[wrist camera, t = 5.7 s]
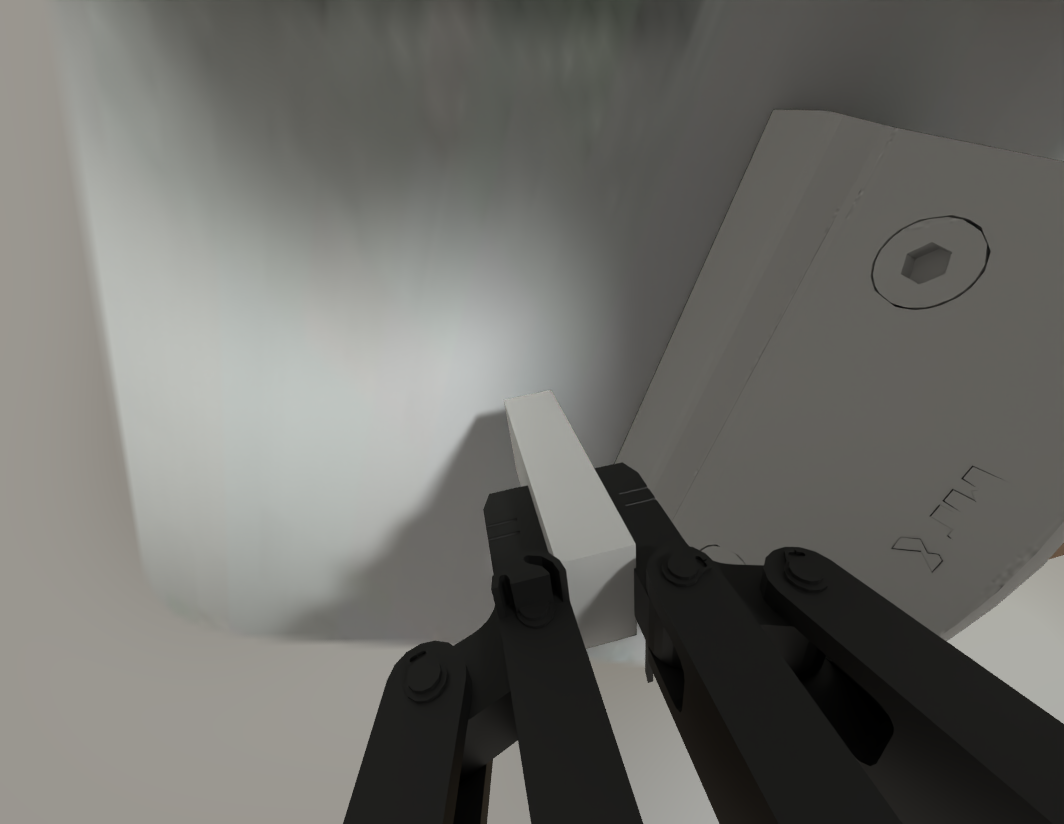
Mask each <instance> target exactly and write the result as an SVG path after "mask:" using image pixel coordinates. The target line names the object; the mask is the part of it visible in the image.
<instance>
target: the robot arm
mask: <svg viewBox="0 0 1064 824" xmlns="http://www.w3.org/2000/svg"><path fill="white" fill-rule="evenodd" d="M504 404H505V409H506V415H507V421H508V426H509V432H510V438H511V443H512V449H513V455H514V460H515V466H516V471H517V475H518V478H519V481H520V485H521V487H518V488H514V489H509V490H505V491H500V492H496V493H492V494H489V496H488V499H487V502H486V504H485V507H484V509H483V510H484V516H485V522H486V529H487V535H488V540H489V547H490V554H491V560H492V566H493V573H494V575H493V577H492V588H491V590H492V594H493V598H494V601H495V608H494V610H493V612H492V614H491V616H490V618H489V619H488V620H487V622H486V623H485V624H484V625H483V626H482V627H481V628H480V629H479V630H477V631H476V632H475V633H473V634H472V635H470V636H469V637H467V638H466V639H464V640H462V641H461V642H459V643H457V644H456V645H454V646H452V645H451V644H450V643H446V642H440V641H432V642H427V643H423V644H420V645H418V646H416V647H415V648H413V649H411V650H410V651H408V652H406V654H405V655H404V656H403V657H402V658H401V659H400V660H399V661H398V662H397V663H396V664H395V666H394V668H393V670H392V672H391V674H390V676H389V678H388V680H387V683H386V686H385V689H384V692H383V696H382V699H381V702H380V705H379V709H378V712H377V715H376V719H375V722H374V725H373V728H372V731H371V735H370V738H369V741H368V744H367V748H366V751H365V754H364V757H363V761H362V764H361V767H360V770H359V774H358V777H357V780H356V783H355V787H354V790H353V793H352V797H351V800H350V803H349V807H348V810H347V813H346V816H345V819H344V822H343V824H487V816H488V805H489V795H490V783H491V773H492V763H493V758H495V757H496V756H497V755H499V754H500V753H501V752H503V751H504V750H505V749H506V748H508V747H509V746H511V745H512V744H513V743H514V742H516V741H517V740H518V742H519V748H520V754H521V761H522V767H523V774H524V780H525V786H526V792H527V799H528V805H529V811H530V817H531V824H643V822H642V819H641V816H640V813H639V810H638V806H637V804H636V801H635V797H634V794H633V792H632V788H631V785H630V783H629V779H628V776H627V773H626V770H625V767H624V764H623V761H622V758H621V755H620V752H619V749H618V746H617V743H616V740H615V736H614V734H613V730H612V728H611V724H610V721H609V718H608V715H607V712H606V709H605V706H604V703H603V700H602V697H601V694H600V691H599V688H598V685H597V682H596V679H595V676H594V672H593V669H592V666H591V663H590V660H589V657H588V654H587V651H586V649H587V648H591V647H594V646H598V645H602V644H605V643H609V642H613V641H616V640H620V639H623V638H627V637H631V636H634V635H637V623H636V620H637V622H638V624H639V626H640V629H641V631H642V633H643V635H644V637H645V640H646V655H645V672H646V676H647V681H648V683H649V682H652V681H653V674H654V676H655V678H656V680H657V683H658V685H659V687H660V689H661V692H662V694H663V696H664V699H665V701H666V703H667V705H668V708H669V710H670V712H671V714H672V717H673V719H674V721H675V723H676V726H677V728H678V730H679V733H680V735H681V737H682V739H683V742H684V744H685V746H686V749H687V751H688V753H689V755H690V758H691V760H692V762H693V764H694V767H695V769H696V771H697V773H698V776H699V778H700V780H701V782H702V785H703V787H704V789H705V792H706V794H707V796H708V799H709V801H710V803H711V805H712V808H713V810H714V812H715V814H716V817H717V819H718V821H719V824H1064V724H1063V723H1061V722H1060V721H1059V720H1057V719H1055V718H1054V717H1053V716H1052V715H1050V714H1049V713H1047V712H1046V711H1044V710H1043V709H1042V708H1040V707H1039V706H1037V705H1036V704H1034V703H1033V702H1032V701H1030V700H1029V699H1027V698H1026V697H1025V696H1023V695H1022V694H1020V693H1019V692H1017V691H1016V690H1015V689H1013V688H1012V687H1010V686H1009V685H1007V684H1006V683H1005V682H1003V681H1002V680H1000V679H999V678H998V677H996V676H995V675H993V674H992V673H990V672H989V671H987V670H986V669H985V668H983V667H982V666H980V665H979V664H978V663H976V662H975V661H973V660H972V659H971V658H969V657H968V656H966V655H965V654H964V653H962V652H961V651H959V650H958V649H956V648H955V647H954V646H952V645H951V644H949V643H948V642H947V641H945V640H944V639H942V638H941V637H939V636H938V635H937V634H935V633H934V632H932V631H931V630H930V629H928V628H927V627H925V626H924V625H922V624H921V623H920V622H918V621H917V620H915V619H914V618H912V617H911V616H910V615H908V614H907V613H905V612H904V611H903V610H901V609H900V608H898V607H897V606H895V605H894V604H893V603H891V602H890V601H888V600H887V599H886V598H884V597H883V596H881V595H880V594H878V593H877V592H876V591H874V590H873V589H871V588H870V587H869V586H867V585H866V584H864V583H863V582H861V581H860V580H859V579H857V578H856V577H854V576H853V575H851V574H850V573H849V572H847V571H846V570H844V569H843V568H842V567H840V566H839V565H837V564H836V563H834V562H833V561H832V560H830V559H828V558H827V557H825V556H823V555H821V554H819V553H817V552H815V551H812V550H808V549H805V548H801V547H782V548H779V549H776V550H773V551H772V552H771V553H770V554H769V555H768V556H767V557H766V558H765V563H764V565H738V564H726V563H719V562H716V561H713V560H712V559H711V558H710V557H709V556H708V555H707V554H706V553H704V552H702V551H700V550H698V549H696V548H694V547H690V546H689V545H688V544H687V543H686V542H685V540H684V539H683V537H682V536H681V534H680V533H679V531H678V530H677V529H676V527H675V526H674V524H673V523H672V521H671V520H670V518H669V517H668V515H667V514H666V512H665V511H664V510H663V508H662V507H661V505H660V504H659V502H658V501H657V500H656V499H655V496H654V495H653V493H652V492H651V491H650V489H648V487H647V485H646V483H645V482H644V480H643V479H642V477H641V476H640V474H639V473H638V472H637V471H635V470H634V469H632V468H631V467H629V466H627V465H626V464H624V463H623V462H621V463H617V464H613V465H608V466H604V467H600V468H595V469H594V467H593V465H592V463H591V462H590V460H589V458H588V456H587V454H586V452H585V451H584V449H583V447H582V445H581V443H580V442H579V440H578V438H577V436H576V434H575V432H574V431H573V429H572V427H571V425H570V423H569V421H568V420H567V418H566V416H565V414H564V412H563V410H562V409H561V407H560V405H559V403H558V401H557V400H556V398H555V396H554V394H553V392H552V390H548V391H543V392H538V393H534V394H529V395H524V396H519V397H514V398H509V399H504Z"/></svg>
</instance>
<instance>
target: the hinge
mask: <svg viewBox="0 0 1064 824" xmlns="http://www.w3.org/2000/svg"><path fill="white" fill-rule="evenodd" d="M621 462H623V463H624V464H626V465H627V466H629V467H631V468H632V469H634V470H635V471H637V472H638V473H639V474H640V476H641V477H642V479H643V480H644V482H645V483H646V485H647V487H648V489H650V491H651V492H652V493H653V495H654V496H655V499H656V500H657V501H658V502H659V504H660V505H661V507H662V508H663V510H664V511H665V512H666V514H667V515H668V517H669V518H670V520H671V521H672V523H673V524H674V526H675V527H676V529H677V530H678V531H679V533H680V534H681V536H682V537H683V539H684V540H685V542H686V543H687V544H688V545H689V546H690V547H694V548H696V549H698V550H700V551H702V552H704V553H706V554H707V555H708V556H709V557H710V558H711V559H712V560H713V561H716V562H719V563H726V564H738V565H764V563H765V558H766V557H767V556H768V555H769V554H770V553H771V552H772V551H773V550H776V549H779V548H782V547H801V548H805V549H808V550H812V551H815V552H817V553H819V554H821V555H823V556H825V557H827V558H828V559H830V560H832V561H833V562H834V563H836V564H837V565H839V566H840V567H842V568H843V569H844V570H846V571H847V572H849V573H850V574H851V575H853V576H854V577H856V578H857V579H859V580H860V581H861V582H863V583H864V584H866V585H867V586H869V587H870V588H871V589H873V590H874V591H876V592H877V593H878V594H880V595H881V596H883V597H884V598H886V599H887V600H888V601H890V602H891V603H893V604H894V605H895V606H897V607H898V608H900V609H901V610H903V611H904V612H905V613H907V614H908V615H910V616H911V617H912V618H914V619H915V620H917V621H918V622H920V623H921V624H922V625H924V626H925V627H927V628H928V629H930V630H931V631H932V632H934V633H935V634H937V635H938V636H939V637H941V638H942V639H944V640H945V641H947V640H949V639H950V638H952V637H954V636H955V635H956V634H958V633H959V632H960V631H962V630H963V629H965V628H966V627H968V626H969V625H970V624H972V623H973V622H975V621H976V620H977V619H979V618H980V617H982V616H983V615H984V614H986V613H987V612H988V611H990V610H991V609H993V608H994V607H996V606H997V605H998V604H999V603H1000V602H1001V601H1002V600H1003V599H1005V598H1006V597H1007V596H1008V595H1009V594H1011V593H1012V592H1013V591H1014V590H1015V589H1016V588H1017V587H1019V586H1020V585H1021V584H1022V583H1023V582H1025V581H1026V580H1027V579H1028V578H1029V577H1030V576H1032V575H1033V574H1034V573H1035V572H1036V571H1037V570H1039V569H1040V568H1041V567H1042V566H1043V565H1044V564H1045V563H1046V562H1047V561H1048V560H1049V558H1050V557H1051V556H1052V555H1053V554H1054V553H1055V552H1056V551H1057V549H1058V548H1059V547H1060V546H1061V545H1062V544H1063V543H1064V161H1059V160H1054V159H1049V158H1044V157H1039V156H1034V155H1029V154H1024V153H1019V152H1014V151H1010V150H1005V149H1000V148H995V147H990V146H985V145H980V144H975V143H970V142H965V141H960V140H955V139H950V138H945V137H940V136H935V135H930V134H925V133H920V132H915V131H911V130H906V129H901V128H896V127H891V126H887V125H883V124H879V123H875V122H871V121H867V120H863V119H859V118H855V117H851V116H848V115H844V114H840V113H835V112H831V111H826V110H779V109H774V110H773V112H772V114H771V116H770V118H769V121H768V123H767V125H766V127H765V130H764V132H763V134H762V136H761V139H760V141H759V143H758V145H757V147H756V150H755V152H754V154H753V156H752V159H751V161H750V163H749V165H748V167H747V170H746V172H745V174H744V176H743V179H742V181H741V183H740V185H739V188H738V190H737V192H736V194H735V196H734V199H733V201H732V203H731V205H730V208H729V210H728V212H727V214H726V217H725V219H724V221H723V223H722V225H721V228H720V230H719V232H718V234H717V237H716V239H715V241H714V243H713V246H712V248H711V250H710V252H709V254H708V257H707V259H706V261H705V263H704V266H703V268H702V270H701V272H700V274H699V277H698V279H697V281H696V283H695V286H694V288H693V290H692V292H691V295H690V297H689V299H688V301H687V303H686V306H685V308H684V310H683V312H682V315H681V317H680V319H679V321H678V324H677V326H676V328H675V330H674V332H673V335H672V337H671V339H670V341H669V344H668V346H667V348H666V350H665V353H664V355H663V357H662V359H661V361H660V364H659V366H658V368H657V370H656V373H655V375H654V377H653V379H652V381H651V384H650V386H649V388H648V390H647V393H646V395H645V397H644V399H643V402H642V404H641V406H640V408H639V410H638V413H637V415H636V417H635V419H634V422H633V424H632V426H631V428H630V431H629V433H628V435H627V437H626V439H625V442H624V444H623V446H622V448H621V451H620V453H619V455H618V457H617V460H616V462H615V464H617V463H621Z"/></svg>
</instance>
